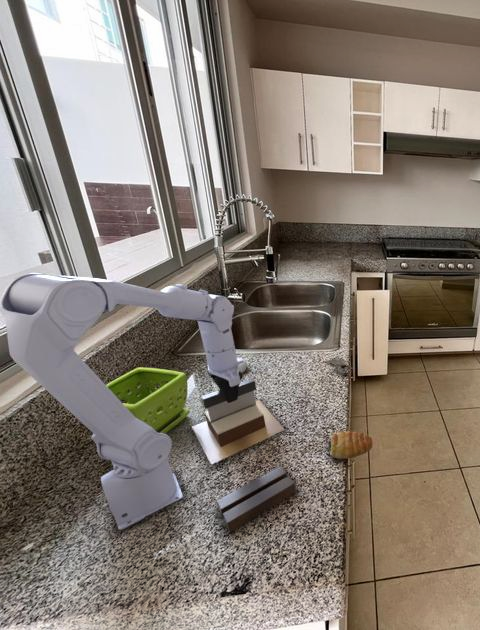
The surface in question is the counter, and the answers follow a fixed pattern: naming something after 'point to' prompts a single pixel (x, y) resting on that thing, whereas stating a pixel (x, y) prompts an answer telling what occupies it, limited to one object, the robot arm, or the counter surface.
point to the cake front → (238, 425)
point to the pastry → (349, 444)
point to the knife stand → (255, 498)
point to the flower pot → (154, 396)
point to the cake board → (220, 453)
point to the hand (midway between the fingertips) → (230, 398)
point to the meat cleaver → (339, 365)
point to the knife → (222, 408)
